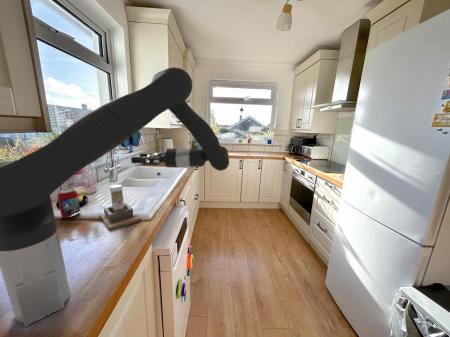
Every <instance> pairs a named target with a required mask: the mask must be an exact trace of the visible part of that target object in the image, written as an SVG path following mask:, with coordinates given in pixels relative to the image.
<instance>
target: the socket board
mask: <svg viewBox="0 0 450 337" xmlns="http://www.w3.org/2000/svg"><path fill="white" fill-rule="evenodd" d="M103 211H104V213H105V214H100V216H99V218H100V217H101V218H100V219H101V221H102V222H103V223H104V225H105V227H106V228H107V230H108V231H109V232H111V231H114V230H117V229H119V228H120V229H121V228H122V227H126V226H130V225H132V224H136V223H138V222H141V221H142V218H141V216H140V215H138V214H137V215H133V211H134V210H133V208H132V207H131V206H130V205H129V204H128V203H127V202H124V210H122V211H119V212H115V213H113V207H112V205H111V206H108V207H104V208H103Z"/></svg>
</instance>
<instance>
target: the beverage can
mask: <svg viewBox="0 0 450 337" xmlns="http://www.w3.org/2000/svg"><path fill="white" fill-rule="evenodd" d="M56 195H57V201H58V207H59V211H60V215H61V218H64V219H69V218H68V217H69V216H71V215H72V214H74V213H77V212H79V211H80V212H81V208H80V207H81V206H80V202H79V201H80V200H79V196H78V192H77V191H76V190H75V188H64V189H61V190H59V191H58V194H56Z"/></svg>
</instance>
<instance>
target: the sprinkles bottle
mask: <svg viewBox="0 0 450 337" xmlns="http://www.w3.org/2000/svg"><path fill="white" fill-rule="evenodd" d="M109 191H110V195H111V206H112V207H113V213H115V212H119V211H122V210H124V203H125V202H124V196H123V195H124V194H123V185H122V184H112V185H110V187H109Z"/></svg>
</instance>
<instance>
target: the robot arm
mask: <svg viewBox="0 0 450 337" xmlns="http://www.w3.org/2000/svg"><path fill="white" fill-rule="evenodd" d="M192 90H193V80H192V78H191V75H189V73H188V72H187V71H186V70H185V69H183V68H180V67H169V68H168V67H167V68H165V69H163V70H160V71H158V72H157V73H155V74H154V75H153V76H152V79H151V82H150V83H149V84H147V85H146V86H144V87H142V88H141V89H138V90H136V91H133V92H130V93H127V94H125V95H122V96H119V97H118V98H115V99H112V100H110V101H108V102H105V103H104V104H102V105H100V106H99V107H97V108H95V109H94V110H92V111H90V112H88V113H86V114H84V115H83V116H82V117H81V118H79V119H77V120H76V121H74V122H73V123H72V124H71V125H70V126H68V127H67V128H65V130H64V131H63V132H61V133H60V134H59V135H58V136H57V137H55V138H54V139H53V140H51V141H50V142H49V143H47V144H45V145H44V146H42V147H41V148H39V149H37V150H35V151H33V152H31V153H29V154H26V155H25V156H23V157H19V159H16V160H9V161H2V162H0V272H1V275H2V279H3V282H4V286H5V288H6V292H7V296H8V298H9V302H10V305H11V308H12V311H13V314H14V317H15V320H16V322H18V321H19V322H18V323H20V322H21V323H20V324H23V325H24V327H25V328H27V327H29V326H30V325H29V324H31V323H33V322H34V321H36V320H38V319H40V318H42V317H44V316H46V315H48V314H50V313H52V312H54V311H56V310H58V309H60V308H62V307H64V308H65V303H66V302H67V300H68V299H69V298H70V295H71V289H70V284H69V279H68V274H67V269H66V266H65V261H64V255H63V252H62V247H61V241H60V237H59V232H58V227H57V221H56V216H55V212H54V206H53V204H52V203H53V202H52V197H51V195H52V194H53V193H54V192H55V191H56V190H57V189H59V188H60V187H61V186H62V185H63V184H64V183H66V182H67V181H68V180H69V179H70V178H72V177H73V176H74V175H75V174H77V173H79V172H80V171H81V170H83V169H84V168H86V167H87V166H89V165H90V164H92V163H94V162H96V161H97V160H99V159H101V158H102V157H103V156H105V155H107V154H108V153H110V152H111V151H113V150H114V149H115V148H118V146H120V145H121V144H123V143H124V142H125V141H126V142H127V140H128V139H130V138H132V136H135V134H137V133H138V132H139V131H141V130H142V129H143V128H145V127H146V126H147V125H148V124H149V123H151V122H152V121H153V120H154V119H155V118H156V117H158V116H160V115H161V114H162V113H164V112H166V111H167V110H169V111H170V112H171V113H172V115H174V116H175V118H177V119H178V121H179V122H180V123H181V124H182V125H183V126H184V127H185V128H186V129H187V131H188V132H189V133H190V135H191V136H192V137H193V138H194V140H195V141H196V142H197V143H198V145H199V146H200V149H198V148H195V149H194V148H166V149H165V150H164V152H163V151H162V152H161V151H159V152H158V151H157V152H156V151H154V152H150V153H149V152H148V153H140V154H139V156H132V157H131V158H130V159H131V164H142V166H147V165H148V166H152V165H155V166H156V165H160V164H161V165H162V163H164V164H165V167H166V168H169V169H170V168H171V169H172V168H201V167H204V166H205V163H206V162H209V164H210V166H211V167H212V168H214V169H215V170H216V171H219V172H221V171H226V170H227V168H228V167H229V166H230V157H229V151H228V149H227V147H225V146H222V145H220V141H219V138H218V136H217V134H216V133H215V132H214V130H213V129H212V127H211V126H210V125H209V123H208V122H206V120H205V119H203V117H201V116H200V115H199V114H198V113H197V112H195V111H194V109H192V107H191V106H190V105H189V103H187V101H186V100H187V99H188V98H189V97H190V95H191V93H192V92H193V91H192ZM146 160H147V161H146ZM62 309H63V308H62ZM60 310H61V309H60ZM58 311H59V310H58ZM33 324H34V323H33ZM28 325H29V326H28ZM31 325H32V324H31ZM26 326H27V327H26Z"/></svg>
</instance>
